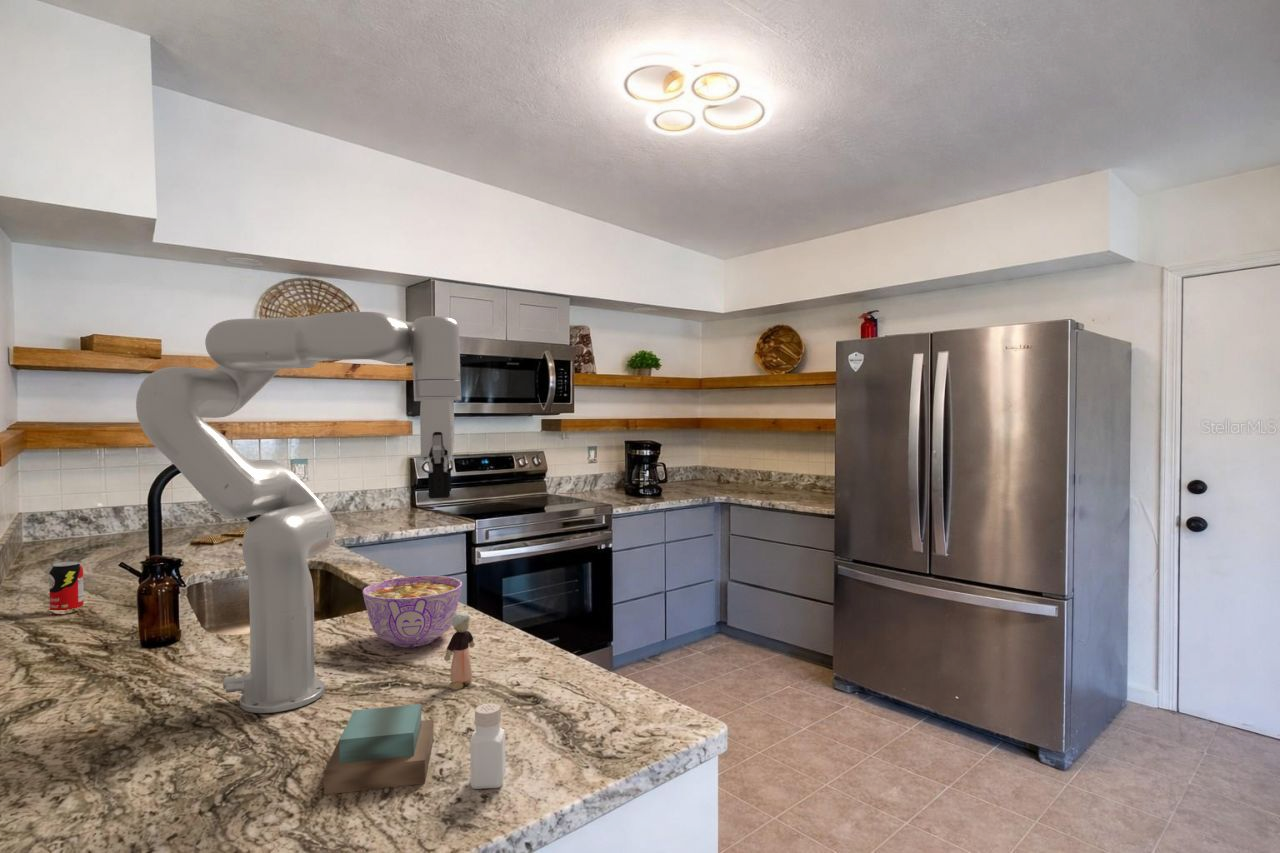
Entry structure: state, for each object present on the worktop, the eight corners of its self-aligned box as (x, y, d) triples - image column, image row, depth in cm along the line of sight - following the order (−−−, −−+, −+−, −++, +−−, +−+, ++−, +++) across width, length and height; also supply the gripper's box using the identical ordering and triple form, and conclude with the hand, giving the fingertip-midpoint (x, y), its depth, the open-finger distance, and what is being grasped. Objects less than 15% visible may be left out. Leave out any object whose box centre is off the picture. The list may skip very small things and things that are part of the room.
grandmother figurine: (461, 692, 115) (461, 618, 115) (441, 691, 116) (440, 617, 116) (481, 676, 123) (480, 606, 123) (461, 674, 124) (461, 605, 124)
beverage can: (59, 609, 168) (58, 561, 168) (89, 607, 170) (88, 560, 170) (43, 616, 162) (43, 566, 162) (74, 614, 164) (73, 565, 163)
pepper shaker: (502, 789, 85) (501, 714, 85) (469, 791, 85) (469, 715, 85) (505, 773, 89) (505, 701, 89) (475, 774, 89) (474, 702, 89)
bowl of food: (407, 664, 129) (406, 604, 129) (342, 646, 139) (341, 590, 139) (482, 635, 146) (482, 582, 146) (419, 621, 156) (419, 571, 156)
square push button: (324, 794, 84) (323, 746, 84) (345, 748, 96) (344, 706, 96) (425, 783, 87) (424, 736, 87) (433, 739, 98) (433, 698, 98)
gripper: (417, 394, 120) (420, 491, 120) (409, 389, 103) (412, 501, 103) (461, 393, 122) (464, 488, 122) (460, 389, 105) (463, 499, 105)
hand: (440, 494), depth 113 cm, fingers open, 9 cm apart
